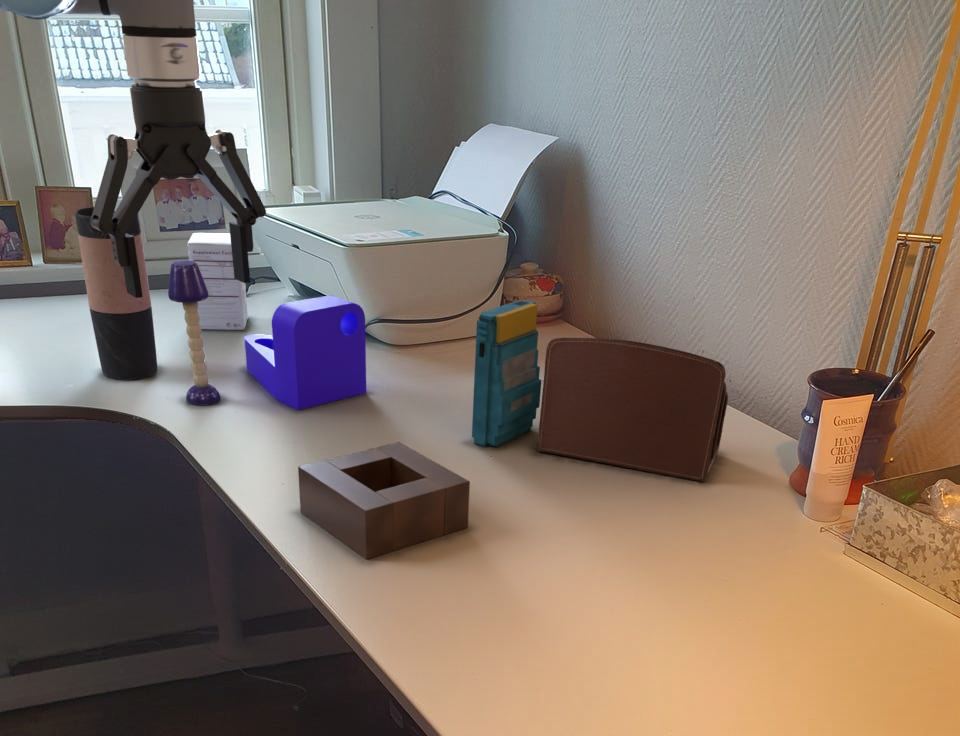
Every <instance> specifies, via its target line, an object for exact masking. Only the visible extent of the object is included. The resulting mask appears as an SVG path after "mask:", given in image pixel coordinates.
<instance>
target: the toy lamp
mask: <svg viewBox="0 0 960 736" xmlns="http://www.w3.org/2000/svg"><path fill="white" fill-rule="evenodd" d="M169 270H170V271H169V280H168V289H167V290H168V291H167V297H168V298H169V301H172V302H176V303H181V304H182V305H181V306H182V308H183V310H184V314H183V316H184V317H183V318H184V320H185V323H186V326H185V327H186V328H185V331H186V334H187V337H188V339H187V345H188V348H189V349H190V350H189V358H190V360H191V370H192V373H193V383H194V385H192V386H190V387H189V388H188V389H187V392H186V396H185V402H187V404H190V405H194V406H210V405H214V404H216V403H219V402H221V399H222V397H221V393H220V392H219V390H218V388H216V387H215V386H214V385H212V384H209V377H208V374H207V370H208V369H207V368H208V367H207V364H206V362H205V360H206V353H205V350H204V349H203V348H204V339H203V338H202V333H203V332H202V331H203V329H201V326H200V325H199V322H200V316H199V313H198V311H197V310H198V302H199V301H202V300H205V299H207V298H208V290H207V287H206V285H205V282H204V280H203V277H202V274H201V272H200V269H199V267H198V265H197V263H196V262H194V261H191V260H189V259H181V260H175V261H173V262H172V263H171V265H170V269H169Z"/></svg>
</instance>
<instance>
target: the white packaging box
mask: <svg viewBox="0 0 960 736" xmlns="http://www.w3.org/2000/svg"><path fill="white" fill-rule="evenodd" d="M186 245H187V253H188V260H191V261H194V262H196V263H197V265H198V267H199V269H200V272H201V274H202V277H203V280H204V282H205V285H206V287H207V290H208V298H207V299H205V300H202V301H199V302H198V310H197V311H198V313H199V316H200V322H199V325H200V326H201V330H223V331H224V330H225V331H229V330H230V331H243V330H245V329H246V325H247V321H248V317H249V312H248V300H247V291H246V290H247V288H246V283H243V282H241V281H238V280H236V279H234V269H233V258H232V248H231V238H230V233H228V232H227V233H225V232H224V233H223V232H222V233H221V232H214V233H213V232H193V233H192V235H191V236H190V237H189V240H188V241H187V244H186Z"/></svg>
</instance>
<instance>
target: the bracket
mask: <svg viewBox="0 0 960 736" xmlns="http://www.w3.org/2000/svg"><path fill="white" fill-rule="evenodd" d="M271 333H272V335H270V334H265V333H253V334H248V335H245V336H244V337H243V339H244V350H245V351H244V352H245V364H246V371H247V372H248V373H249V374H250V375H251V376H252V377H253V378H254V379H255V380H256V381H257V382H258V383H259V384H260V385H261V386H262V387H263V388H264V389H265V390H266V391H267V392H268V393H269V394H270V395H271V396H272V397H273V398H274V399H275V400H276V401H277V402H279V403H282V404H284V405H286V406H288V407H290V408H293V409H294V410H297V411H301V410H305V409H308V408H312V407H316V406H320V405H324V404H328V403H332V402H336V401H339V400H340V401H341V400H344V399H348V398H351V397H356V396H358V395H363V394H367V357H366V356H367V354H366V353H367V349H366V348H367V347H366V345H367V344H366V343H367V341H366V314H365V311H364V309H363V308H362V306H361V305H360V304H357V303H356V302H352V301H349V300H346V299H344V298H340V297H338V296H335V295H326V296H318V297H313V298H308V299H300V300H296V301H290V302H285V303H282V304H280V305H279V306H278V307H277V308H276V309H275V311H274V312H273V314H272V318H271Z"/></svg>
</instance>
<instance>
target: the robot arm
mask: <svg viewBox="0 0 960 736" xmlns="http://www.w3.org/2000/svg"><path fill="white" fill-rule="evenodd" d="M0 10H2V11H5V12H11V13H12V14H15V15H18V16H21V17H24V18H27V19H30V20H35V21H38V20H40V21H41V20H46V19H50V18H52V17H55V16H57V15H90V16H91V15H92V16H93V15H97V16H98V15H99V16H109V17H111V16H119V20H120V24H121V33H122V41H123V48H124V55H125V64H126V71H127V77H129V78H130V79H131V80H134V84H131V87H130V88H129V94H130V99H131V108H132V114H133V120H134V125H135V134H134V137H127V136H126V137H125V136H121V135H117V134H113V133H112V134H111V133H110V134H109V135H108V136H107V160H106V161H107V162H106V164H105V167H104V170H103V175H102V178H101V182H100V185H99V188H98V192H97V195H96V199H95V203H94V206H93V207H94V210H93V213H92V217H91V220H90V224H91V226H92V227H93V228H95V229H97V230H99V231H101V232H105V233H108V234H109V235H110V238H111V244H112V250H113V257H114V261H115V263H116V264H117V265H119V266H121V267H123V269H124V276H125V282H126V289H127V293H128V294H130V295H132V296H134V297H136V298H140V297H143V295H142V288H141V281H140V274H139V267H138V261H137V254H136V247H135V240H134V237H133V236H131V235H129V234H127V231H128V230H129V228H130V226H131V225H132V223H133V221H134V219H135V218H136V216H137V214H139V212H140V211H141V209H142V208H143V206H144V204H145V202H146V200H147V199H148V197H149V195H150V194H151V193H152V190H153V188H154V187H155V186H157V184H158V183H159V182H160V180H161V179H164V180H166V181H170V180H172V181H173V180H176V179H179V178H183V179H195V177H197V178H199V179H200V180H201V182H203V184H204V185H205V186H206V187H207V188H208V189H209V190H210V192H211V193H212V194H213V195H214V196H215V197H216V198H217V199H218V201H219V202H220V203H221V204H222V206H223V207H224V208H225V209H226V210H227V211H228V212H229V214H230V215H231V216H232V217H233V218H234V219H235V220H236V221H229V222H228V226H229V234H230V238H231V248H232V258H233V269H234V279H236V280H238V281H241V282H243V283H245V284H250V283H251V273H250V262H249V253H252V252H253V251H254V236H253V226H254V225H255V224H256V223H257V219H259V218H264V217H265V216H266V214H267V209H266V206H264V203H263V201H262V199H261V198H260V196H259V193H258V192H257V190H256V187H255V186H254V184H253V182H252V180H251V178H250V175H249V174H248V172H247V170H246V168H245V166H244V164H243V163H242V160H241V158H240V157H239V155H238V151H237V146H236V141H235V135H234V134H233V133H232V132H231V131H227V130H222V129H217V130H215V132H213V133H209V134H208V131H207V128H206V110H205V102H204V91H203V89H202V88H201V86H200V85H197V81H200V79H201V78H202V73H201V63H200V53H199V44H198V37H197V29H196V28H197V27H196V16H195V3H194V0H0ZM211 147H212V149H213V151H214V152H215V153H216V154H218V156H219V158H220V161H221V163H222V164H223V167H224V168H225V171H226V172H227V174H228V176H229V178H230V180H231V181H232V182H231V183H233V185H234V187H235V190H236V192H237V193H238V195H239V197H240V199H241V200H242V202H243V203H242V202H241V201H240V200H239V199H238V197H237V196H236V195H235V194H234V192H233V191H232V190H231V189H230V187H228V185H227V184H226V183H225V182H224V181H223V180H222V179H221V177H220V176H219V175H218V174H217V171H216V170H215V168H213V166H212V165H211V164H210V163H209V161H208V160H207V159H206V158H207V156H208V154H209V152H210V150H211ZM135 151H136V152H137V154H138V155H139V156H140V158H141V159H142V161H140V164H139V166H138V168H137V169H136V171H135V177H134V179H132V182H131V183H130V185H129V187H128V188H127V190H126V192H125V193H124V195H123V197H122V199H121V200H120V202H119V204H118V206H117V203H118V200H119V196H120V194H121V189H122V186H123V182H124V178H125V176H126V172H127V168H128V164H129V160H130V159H131V158H132V156H133V153H134V152H135ZM114 211H115V213H114Z"/></svg>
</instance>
